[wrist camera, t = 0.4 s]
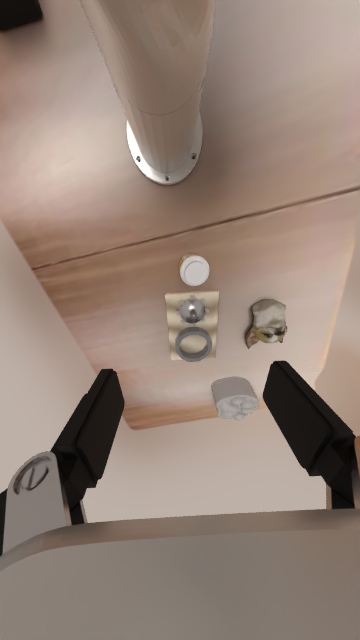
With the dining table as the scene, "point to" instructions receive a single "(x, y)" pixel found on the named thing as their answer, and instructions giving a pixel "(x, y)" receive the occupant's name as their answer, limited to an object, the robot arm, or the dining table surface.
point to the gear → (192, 310)
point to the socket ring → (198, 355)
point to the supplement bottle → (193, 269)
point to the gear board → (175, 326)
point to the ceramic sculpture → (267, 323)
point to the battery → (18, 12)
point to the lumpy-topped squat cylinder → (234, 398)
